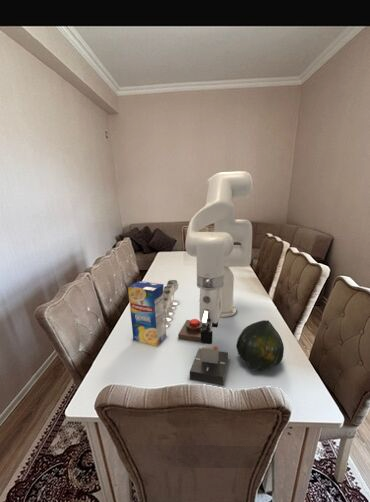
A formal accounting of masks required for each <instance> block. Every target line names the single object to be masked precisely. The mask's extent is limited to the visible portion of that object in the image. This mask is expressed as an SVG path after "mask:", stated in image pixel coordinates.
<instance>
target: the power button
mask: <svg viewBox="0 0 370 502" xmlns="http://www.w3.org/2000/svg"><path fill="white" fill-rule="evenodd" d="M189 320H190V326H192V327H197V326H199V321H200V319H197V318H192V319H189Z"/></svg>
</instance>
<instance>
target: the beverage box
mask: <svg viewBox="0 0 370 502" xmlns="http://www.w3.org/2000/svg"><path fill="white" fill-rule="evenodd" d="M164 287H165V286H164V284H163V283H157V282H149V281H141V280H138V281H136V282H134V283H132V284H130V285H128V286H127V292H128V301H129V310H130V311H129V312H130V321H131V331H132V340H133V341H136V342H139V343H144V344H148V345H152V346H156V347H158V346H159V345H160V344H161V343H162V342H163V341H164V340H165V339H166V338H167V328H166V323H167V322H165V317H166V315H165V304H164Z"/></svg>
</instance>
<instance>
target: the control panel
mask: <svg viewBox="0 0 370 502" xmlns="http://www.w3.org/2000/svg"><path fill="white" fill-rule="evenodd" d="M228 362H229V352H228V351H220V350H218V364H215V363H208V362H202V347H200V348H198V350H197V352H196V355H195V356H194V359H193V362H192V363H191V364H192V365H191V367H190V369H189V380H191V381H197V382H202V383H207V384H212V385H219V386H224V384H225V377H226V374H227V368H228Z"/></svg>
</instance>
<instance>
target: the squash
mask: <svg viewBox="0 0 370 502" xmlns="http://www.w3.org/2000/svg"><path fill="white" fill-rule="evenodd" d="M235 349H236V351H237V355H238V356H239V357H240V359H241V360H242V361H243V362H245V363H247V365H248V367H249V369H251V370H253V371H256V370H262V371H264V372H265V371H269V370H270V369H272V368H273V367H277V366H278V365H279V364H280V363H282V360H283V358H284V351H285V347H284V342H283V339H282V337H281V335H280V334H279V332H278V331H277V329H276V328H275V327H274V325H273V323H271V321H270V320H265V319H264V320H260V321H256V322H253V323H251V324H249V325H247V326H246V327H244V329H242V331H241V333H240V334H239V336H238V337H237V341H236V345H235Z"/></svg>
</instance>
